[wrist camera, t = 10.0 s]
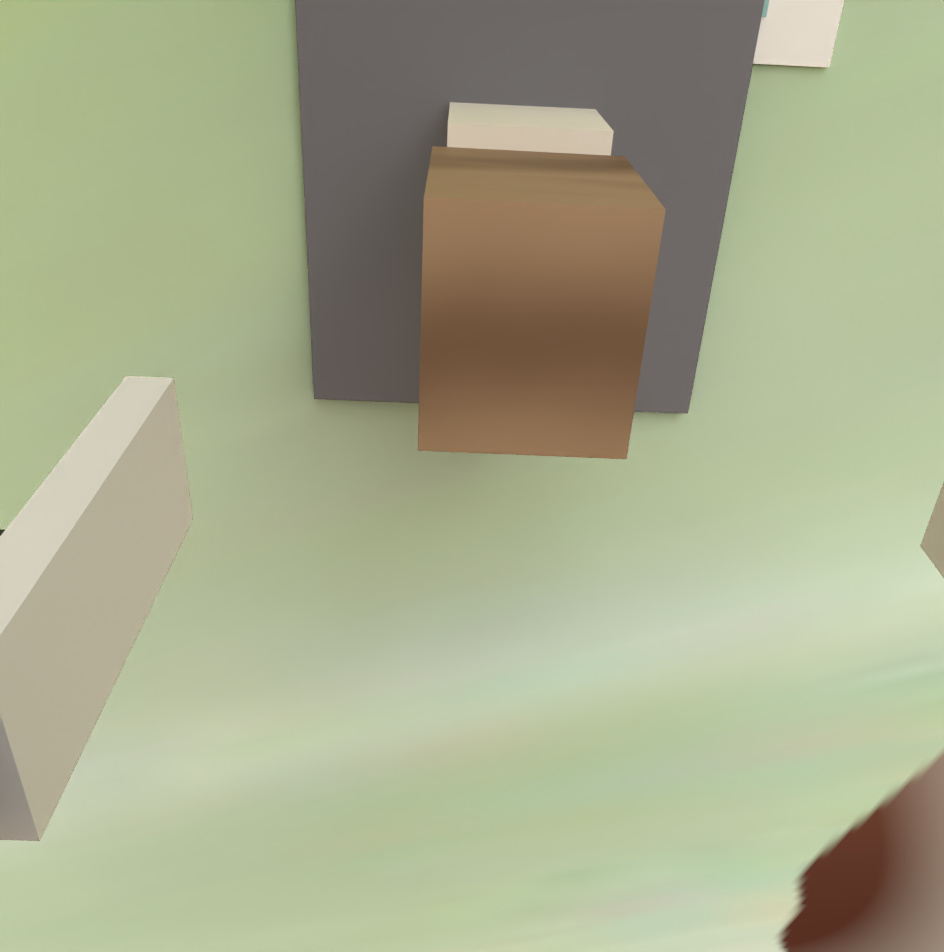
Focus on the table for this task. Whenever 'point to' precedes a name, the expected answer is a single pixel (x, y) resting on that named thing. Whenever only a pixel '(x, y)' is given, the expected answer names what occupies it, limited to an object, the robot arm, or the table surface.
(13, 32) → the table surface
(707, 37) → the mat
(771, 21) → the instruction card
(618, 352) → the walnut brick
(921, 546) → the robot arm
